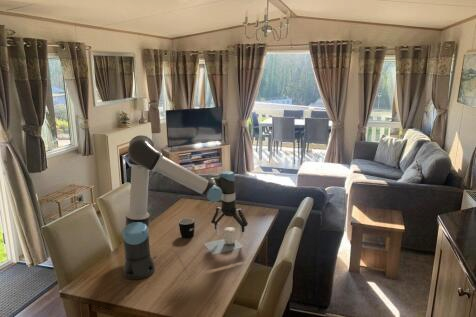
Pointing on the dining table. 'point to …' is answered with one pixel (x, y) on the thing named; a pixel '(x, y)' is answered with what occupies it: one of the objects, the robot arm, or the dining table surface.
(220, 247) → the post board
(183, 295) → the dining table surface
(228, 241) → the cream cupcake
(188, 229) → the mug
